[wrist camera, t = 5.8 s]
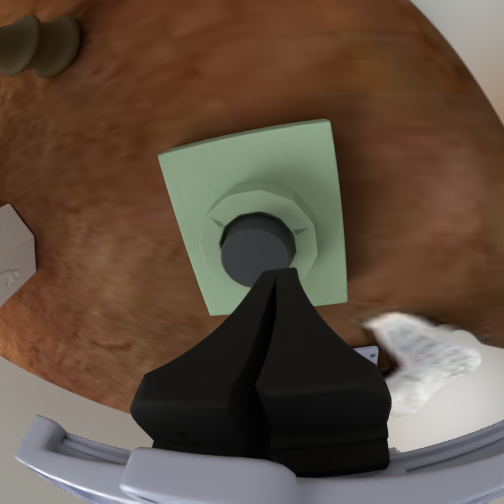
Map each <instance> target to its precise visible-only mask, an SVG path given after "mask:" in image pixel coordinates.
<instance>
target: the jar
mask: <svg viewBox="0 0 504 504" xmlns="http://www.w3.org/2000/svg"><path fill="white" fill-rule="evenodd" d="M35 273H36V260H35V243H34V235H33V234H32V233H31V231H30V230H29V229H28V228H27V226H26V225H25V224H24V222H23V221H22V220H21V218H20V217H19V216H18V214H17V213H16V211H15V210H14V209H13V207H12V206H11V205H10V204H6V205H4V206H1V207H0V307H1V306H2V305H3V304H4V303H5V302H6V301H7V300H8V299H9V298H10V297H11V296H12V295H13V294H14V293H15V292H16V291H17V290H18V289H19V288H20V287H21V286H22V285H23V284H24V283H25V282H26V281H27V280H28V279H29V278H30V277H31V276H32V275H33V274H35Z"/></svg>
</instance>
